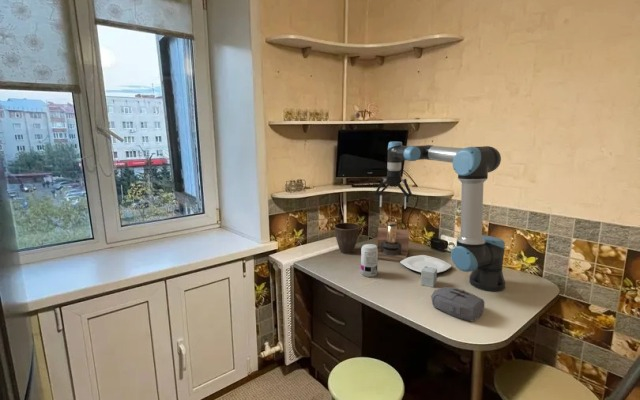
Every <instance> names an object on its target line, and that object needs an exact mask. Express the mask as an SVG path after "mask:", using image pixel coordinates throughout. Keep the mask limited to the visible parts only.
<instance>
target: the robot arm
mask: <svg viewBox="0 0 640 400" xmlns="http://www.w3.org/2000/svg"><path fill="white" fill-rule="evenodd" d="M419 160H428V161H437V162H443V163H452V169H453V170H454V172H455V173H456V174H457V179H458V181H460V183H461V194H460V195H461V196H460V197H461V199H460V201H461V202H460V203H461V204H460V234H459V237H457V238H456V246H454V248H452V249H451V252H450V257H451V261H452V263H453V265H455V267H456V268H457V269H458V270H460V271H462V272H466V273H469V272H471V273H470V275H469V280H468V281H469V284H470V285H471V286H473V287H475V288H477V289H479V290H481V291H485V292H486V291H488V292H500V291H503V290H504V289H505V286H506V281H505V277H504V274H503V265H504V257H505V249H506V247H505V245H506V243H505V241H504V240H503V239H502V238H499V237H495V236H491V235H483V209H484V208H483V207H484V184H485V182H486V181H487V180H488V177H489V175H488V174H490V173H492V172H494V171H496V170H497V169H498V168H499V166H500V164H501V162H502V157H501V153H500V152H499V150H498V149H497V148H495V147H493V146H490V145H489V146H488V145H486V146H468V147H464V148H463V147H453V146H440V145H433V144H432V145H431V144H426V145H403V142H402V141H389V142H388V145H387V167H386V168H387V173H386V178H385V177H382V178H381V179H380V183H379V185H378V186H377V188H376V190H375V192H374V194H375V195H377V201H378V202H379V207H380V208H382V206H383V195H382V194H383V192H384V191H386V190H387V188H389V187H395V188H397V187H398V188H399V189H400V190H401V192H402V193H403V194H404V195H405V196H404V204H403V205H404V207H403V208H404V209H403V210H405V209H406V208H407V203H409V198H410V197H412V195H413V193H412V191H411V189H410V186H409V185H408V181H407V180H408V179H407V178H402V162H403V161H408V162H416V161H419ZM385 182H386V183H387V184H386V185H385V186H384V187H383V188H382V185H383V184H384V183H385ZM401 183H403V184H404V187H405V188H404V187H403V185H402V184H401ZM381 188H382V189H381ZM380 189H381V190H380ZM406 190H407V191H406Z"/></svg>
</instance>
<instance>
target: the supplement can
mask: <svg viewBox="0 0 640 400" xmlns="http://www.w3.org/2000/svg"><path fill="white" fill-rule="evenodd" d="M377 247H378V245H376V244H374V243H365V244H363V245H362V246H361V248H360V249H361V250H360V252H361V253H360V273H361V275H362V276H364V277H365V278H366V277H367V278H371V277H372V278H373V277H376V276H377V274H378V261H379V260H378V249H377Z"/></svg>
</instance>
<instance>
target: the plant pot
mask: <svg viewBox="0 0 640 400" xmlns="http://www.w3.org/2000/svg"><path fill="white" fill-rule="evenodd" d="M333 227H334V233H335V237H336V238H335V239H336V244H337V246H338V249H339V251H340V253H342V254H352V253H353V252H354V249H355V247H356V243H357V241H358V238H359V232H360V225H359V224H356V223H352V222H339V223H336V224H334V225H333Z"/></svg>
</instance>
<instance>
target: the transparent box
mask: <svg viewBox="0 0 640 400" xmlns="http://www.w3.org/2000/svg"><path fill="white" fill-rule="evenodd" d="M387 228H388V227H378V228H377V249H378V261H387V262H394V263H395V262H396V263H400V261H402V260H404V259H406V258H408V254H409V239H410V238H409V237H410V229H401V228H396V245H388V244H387ZM387 248H396V250H395V251H389V250H387Z"/></svg>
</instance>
